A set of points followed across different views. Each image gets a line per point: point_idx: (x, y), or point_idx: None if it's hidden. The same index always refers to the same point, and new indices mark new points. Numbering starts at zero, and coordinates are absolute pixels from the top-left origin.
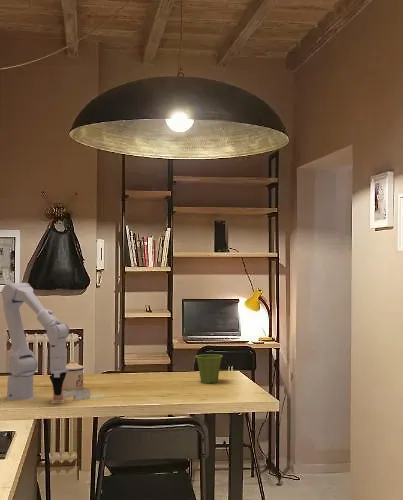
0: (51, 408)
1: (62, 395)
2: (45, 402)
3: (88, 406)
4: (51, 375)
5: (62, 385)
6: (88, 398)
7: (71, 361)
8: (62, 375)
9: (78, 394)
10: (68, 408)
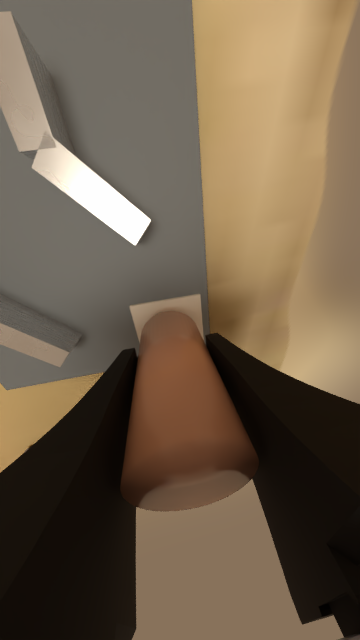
0: (275, 327)
1: (183, 323)
2: None
3: (296, 74)
4: (135, 616)
5: (198, 375)
6: (53, 86)
7: None
8: (71, 573)
9: (77, 200)
10: (304, 242)
